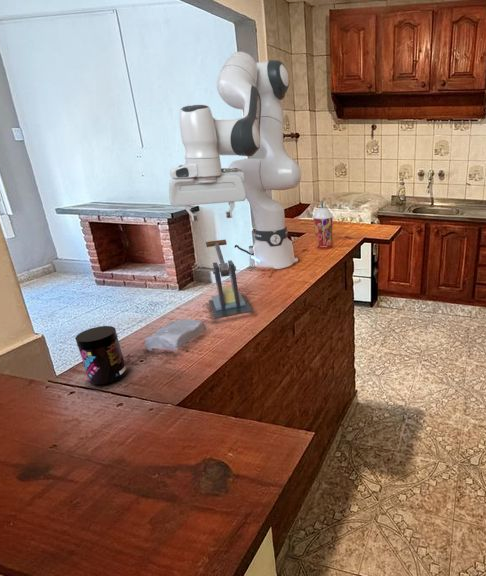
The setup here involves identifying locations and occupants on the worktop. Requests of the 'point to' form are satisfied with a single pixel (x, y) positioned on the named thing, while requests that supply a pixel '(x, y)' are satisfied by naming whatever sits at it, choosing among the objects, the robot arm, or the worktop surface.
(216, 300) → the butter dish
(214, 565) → the worktop surface
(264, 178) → the robot arm
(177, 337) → the stone block
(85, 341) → the supplement container
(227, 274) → the arm
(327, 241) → the smoothie
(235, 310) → the butter cutter
